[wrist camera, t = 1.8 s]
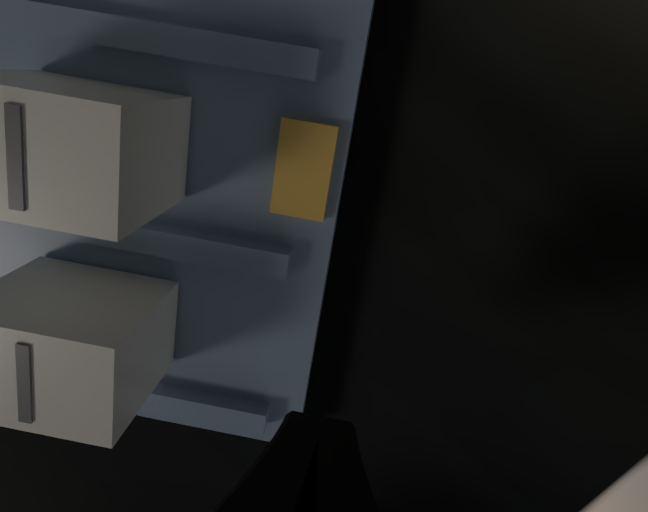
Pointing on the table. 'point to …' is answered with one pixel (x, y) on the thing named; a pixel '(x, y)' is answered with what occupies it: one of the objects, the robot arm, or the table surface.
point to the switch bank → (219, 181)
